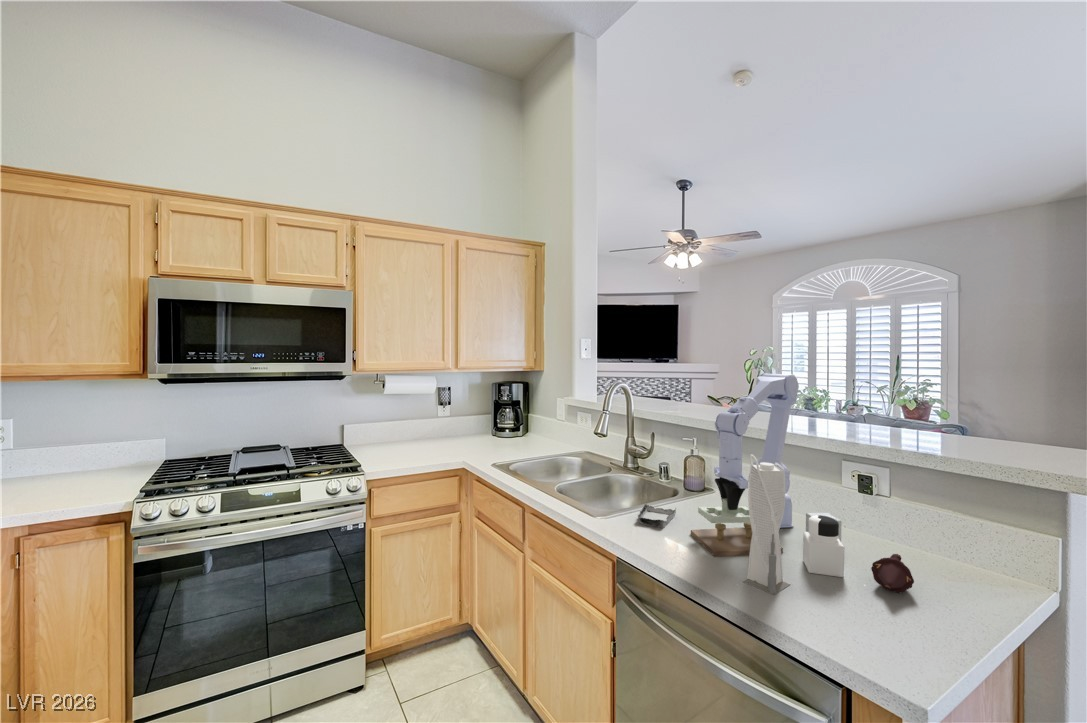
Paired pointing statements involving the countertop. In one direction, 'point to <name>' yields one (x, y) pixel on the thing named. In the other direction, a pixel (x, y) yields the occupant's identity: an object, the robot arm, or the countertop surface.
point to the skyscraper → (766, 526)
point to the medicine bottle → (823, 547)
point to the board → (726, 539)
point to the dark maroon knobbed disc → (892, 574)
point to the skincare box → (822, 515)
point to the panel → (725, 514)
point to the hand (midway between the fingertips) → (729, 507)
